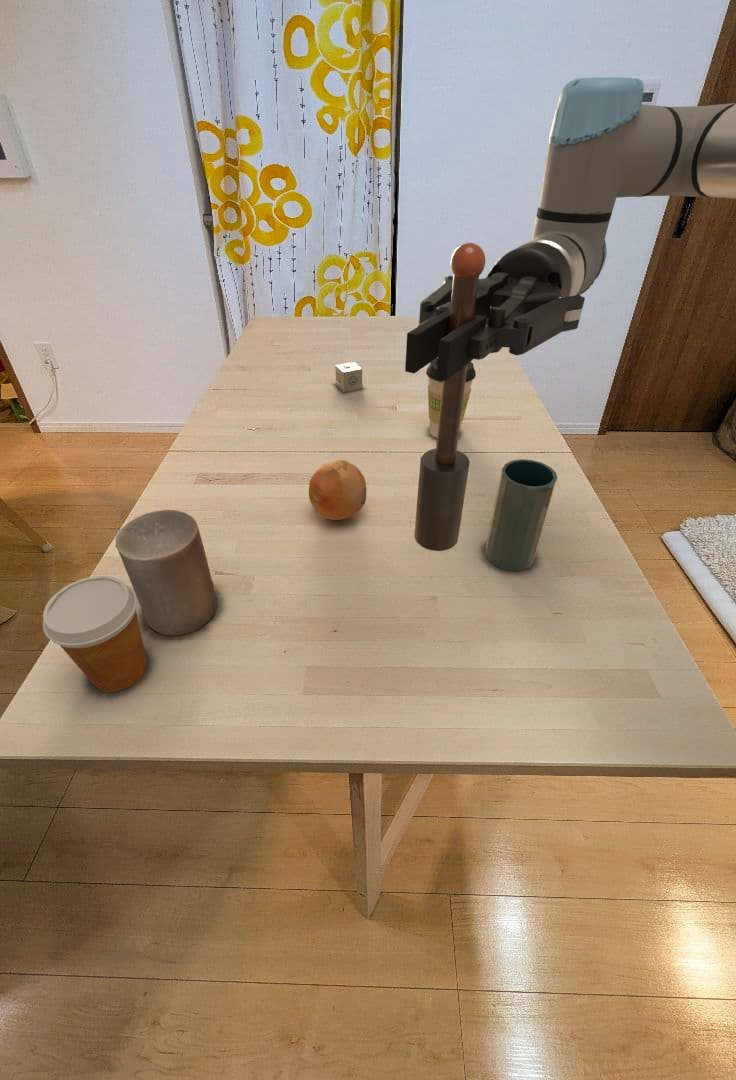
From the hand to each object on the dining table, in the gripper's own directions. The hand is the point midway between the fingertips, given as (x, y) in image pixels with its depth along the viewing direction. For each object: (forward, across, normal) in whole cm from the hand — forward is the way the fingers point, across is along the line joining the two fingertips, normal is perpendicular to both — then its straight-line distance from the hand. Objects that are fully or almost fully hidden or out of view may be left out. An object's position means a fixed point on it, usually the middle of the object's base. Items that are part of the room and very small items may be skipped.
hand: (426, 357), depth 36 cm
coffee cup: (-62, +24, -40) cm, 77 cm away
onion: (-25, +26, -40) cm, 54 cm away
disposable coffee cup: (+16, +31, -40) cm, 53 cm away
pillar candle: (+4, +32, -40) cm, 52 cm away
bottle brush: (-6, 0, -20) cm, 21 cm away
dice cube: (-71, +54, -40) cm, 98 cm away
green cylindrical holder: (-31, -2, -40) cm, 51 cm away
